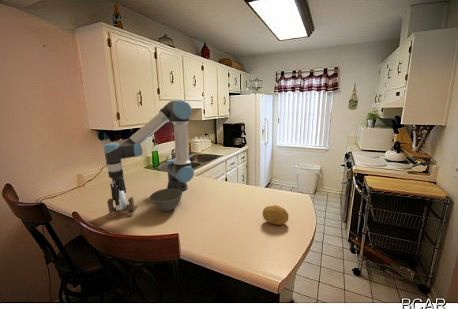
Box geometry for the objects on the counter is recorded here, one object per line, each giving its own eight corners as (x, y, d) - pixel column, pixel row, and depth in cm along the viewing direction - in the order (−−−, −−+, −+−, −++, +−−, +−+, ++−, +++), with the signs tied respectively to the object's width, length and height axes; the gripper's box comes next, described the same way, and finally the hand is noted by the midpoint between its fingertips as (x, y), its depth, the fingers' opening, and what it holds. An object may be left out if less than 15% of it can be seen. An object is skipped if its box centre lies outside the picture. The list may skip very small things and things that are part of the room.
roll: (128, 208, 133) (125, 190, 130) (125, 213, 128) (122, 194, 125) (119, 209, 133) (115, 190, 130) (115, 213, 127) (112, 194, 124)
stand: (137, 207, 137) (135, 193, 135) (131, 216, 125) (129, 202, 123) (114, 209, 136) (112, 195, 134) (106, 218, 124) (103, 204, 122)
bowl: (150, 206, 137) (148, 191, 135) (180, 200, 144) (179, 186, 142) (153, 220, 120) (150, 203, 118) (186, 212, 127) (185, 197, 125)
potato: (286, 213, 104) (289, 203, 112) (259, 210, 110) (264, 200, 118) (287, 230, 107) (290, 219, 115) (261, 226, 112) (265, 215, 120)
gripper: (115, 165, 134) (121, 199, 139) (100, 176, 114) (107, 215, 119) (128, 164, 134) (133, 198, 140) (115, 175, 115) (121, 214, 120)
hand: (121, 206), depth 130 cm, fingers open, 7 cm apart
